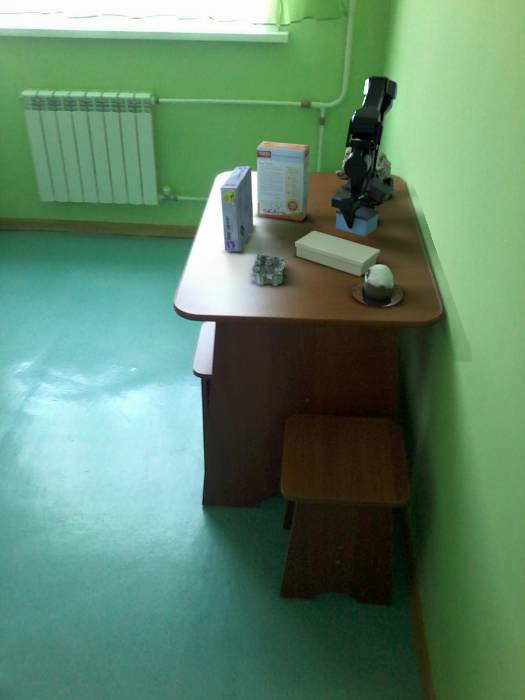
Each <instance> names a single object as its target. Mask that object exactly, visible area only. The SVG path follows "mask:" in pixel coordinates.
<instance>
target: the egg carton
mask: <svg viewBox="0 0 525 700" xmlns="http://www.w3.org/2000/svg"><path fill="white" fill-rule="evenodd" d="M255 256H256V257H255V260H254V263H253V267H252V273H253V276H254V283H256V284H258V285H259V286H264V285H266V284H271V285H272V286H274V287H277V286H278V285H280V284H282V283H283V280H284V276H283V275H284V269H285V266H286V263H285V259H284V256H280V257H278V255H272V254H261V253H258V252H257V253H256V255H255Z"/></svg>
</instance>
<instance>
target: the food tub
mask: <svg viewBox="0 0 525 700" xmlns="http://www.w3.org/2000/svg"><path fill="white" fill-rule="evenodd" d="M358 206H360V205H358ZM335 214H336V215H335V216H336V218H335V220H336V221H335V229H336V230H341V231H344V232H347V233H351V234H355V235H359V236H361V237H367V236H368V235H369V234H371V233H372V232H374V231H375V230H377V227H378V222H377V219H378V220H379V214H380V210H378V209H376V208H375V209H371V208H367V207H363V206H361V208H359V209H358V210H357V211H356V214H355V219H354V223H353V227H352V229H350V228H348V226H347V224H346V222H345V219H344V217H343V215H342V213H341V211H340V209H339V208H336V210H335Z"/></svg>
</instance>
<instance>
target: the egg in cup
mask: <svg viewBox="0 0 525 700" xmlns="http://www.w3.org/2000/svg"><path fill="white" fill-rule="evenodd" d="M351 294H352V296H353V297H354V299H356V300H357V301H358V302H360V303H362V304H365V305H367V306H370V307H377V308H381V307H390V306H394V305H396V304H398V303H400V301H402V299H403V296H404V291H403V290H402V288H401V287H400V285H398V284H396V283H395V280H394V275H393V273H392V271H391V269H390V267H388V265H386V264H380V263H379V264H376V265H374V266H372V267H370V268H369V269H368V271H367V272H365V273H364V278H363V279H361V280H359V281H357V282H355V283H354V284H353V285H352V287H351Z"/></svg>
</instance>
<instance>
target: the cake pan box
mask: <svg viewBox="0 0 525 700" xmlns="http://www.w3.org/2000/svg"><path fill="white" fill-rule="evenodd" d="M252 177H253V176H252V166H247V165H246V166H235V168H234V169H233V170H232V172H231V173H230V175H229V176H228V177H227V178H226V180H225V182H224V183H223V184H222V186H221V187H220V199H221V200H220V201H221V214H222V227H223V228H222V229H223V242H224V251H225V252H233V253H241V252H242V250H243V247H244V246H245V244H246V243H247V241H248V239H249V237H250V235H251V232H252V230H253V228H254V207H253V205H254V203H253V187H252V186H253V183H252Z"/></svg>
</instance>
